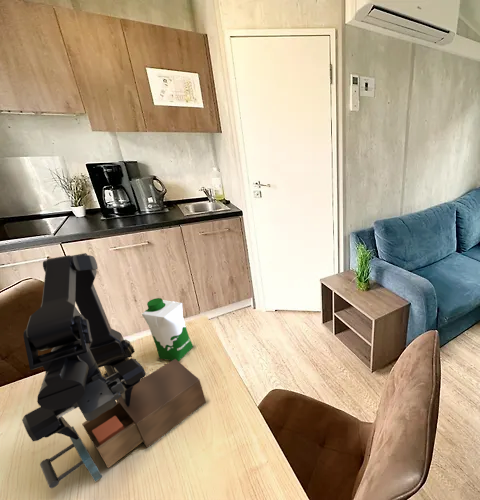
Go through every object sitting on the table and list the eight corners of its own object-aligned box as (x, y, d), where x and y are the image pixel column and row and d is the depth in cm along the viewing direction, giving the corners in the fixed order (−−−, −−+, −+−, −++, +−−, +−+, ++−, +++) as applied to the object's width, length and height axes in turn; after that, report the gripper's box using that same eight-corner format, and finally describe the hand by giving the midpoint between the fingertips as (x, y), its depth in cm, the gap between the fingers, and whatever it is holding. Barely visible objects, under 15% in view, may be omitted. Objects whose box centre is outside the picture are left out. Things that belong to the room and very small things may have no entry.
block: (98, 443, 66) (91, 430, 64) (121, 427, 69) (115, 415, 67) (106, 455, 63) (99, 442, 61) (129, 438, 67) (123, 425, 65)
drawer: (61, 507, 56) (46, 488, 53) (46, 470, 61) (31, 451, 59) (163, 429, 70) (156, 411, 67) (143, 405, 76) (135, 387, 73)
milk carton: (175, 341, 99) (159, 293, 91) (197, 345, 97) (184, 296, 89) (154, 360, 91) (135, 309, 83) (179, 364, 89) (162, 313, 81)
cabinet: (147, 447, 67) (136, 423, 63) (125, 418, 73) (114, 395, 70) (206, 402, 78) (199, 379, 74) (182, 380, 84) (175, 358, 81)
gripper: (18, 428, 46) (57, 484, 52) (146, 357, 60) (165, 408, 66) (5, 394, 51) (42, 448, 58) (125, 337, 66) (144, 385, 72)
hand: (103, 420), depth 63 cm, fingers open, 9 cm apart
